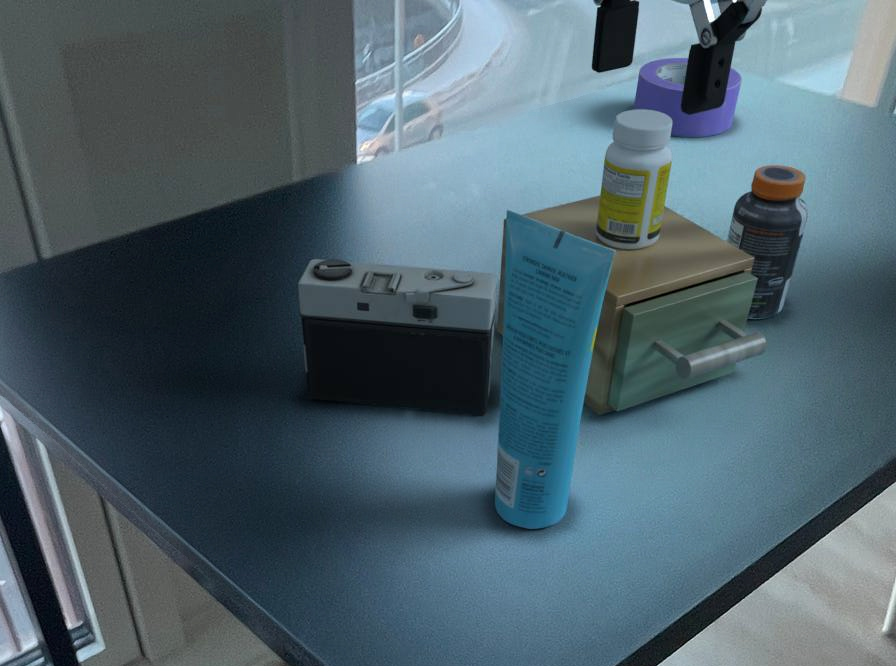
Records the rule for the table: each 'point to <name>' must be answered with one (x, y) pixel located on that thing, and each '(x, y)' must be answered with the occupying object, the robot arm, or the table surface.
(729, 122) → the tape roll
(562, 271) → the tube
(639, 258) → the cabinet
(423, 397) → the camera
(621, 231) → the supplement bottle
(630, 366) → the drawer
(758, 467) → the table surface
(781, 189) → the pill bottle
